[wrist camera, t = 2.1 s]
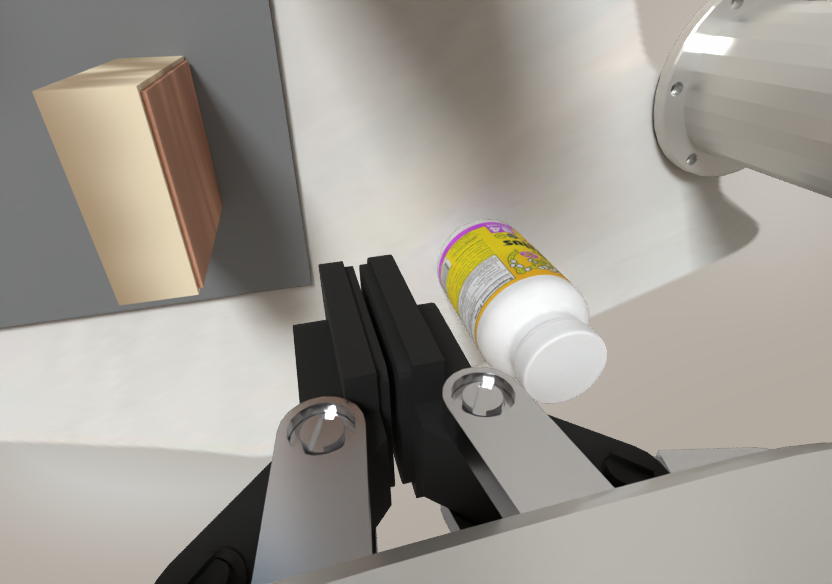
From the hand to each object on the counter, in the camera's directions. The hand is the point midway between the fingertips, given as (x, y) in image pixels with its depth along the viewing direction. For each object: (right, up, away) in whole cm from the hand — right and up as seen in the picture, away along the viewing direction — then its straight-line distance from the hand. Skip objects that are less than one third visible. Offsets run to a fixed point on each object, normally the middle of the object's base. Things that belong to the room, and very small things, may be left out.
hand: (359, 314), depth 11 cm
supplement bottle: (+6, +3, +24) cm, 25 cm away
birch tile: (-12, +9, +14) cm, 20 cm away
